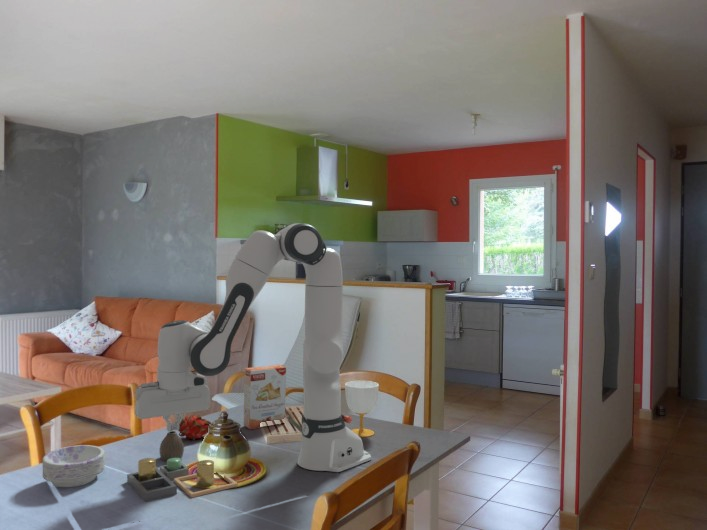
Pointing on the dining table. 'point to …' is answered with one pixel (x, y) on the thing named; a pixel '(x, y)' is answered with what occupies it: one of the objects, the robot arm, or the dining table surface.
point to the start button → (173, 464)
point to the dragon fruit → (193, 427)
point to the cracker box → (264, 395)
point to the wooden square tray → (207, 491)
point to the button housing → (175, 472)
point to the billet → (205, 473)
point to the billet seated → (146, 469)
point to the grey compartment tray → (152, 486)
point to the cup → (361, 401)
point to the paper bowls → (73, 465)
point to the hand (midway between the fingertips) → (173, 430)
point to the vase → (171, 446)
